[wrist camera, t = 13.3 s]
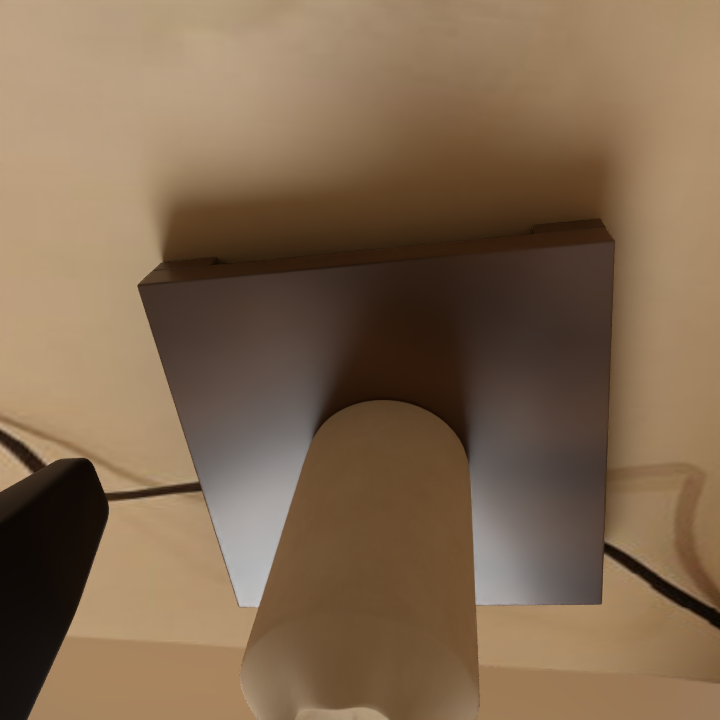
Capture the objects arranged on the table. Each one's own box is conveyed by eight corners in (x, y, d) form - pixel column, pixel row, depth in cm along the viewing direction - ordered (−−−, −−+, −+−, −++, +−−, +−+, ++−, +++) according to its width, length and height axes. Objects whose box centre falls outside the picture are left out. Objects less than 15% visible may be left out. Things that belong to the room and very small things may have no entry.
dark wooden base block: (592, 564, 27) (602, 605, 25) (251, 570, 29) (238, 607, 27) (600, 218, 20) (615, 239, 18) (160, 261, 22) (136, 284, 21)
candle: (322, 530, 25) (252, 828, 16) (292, 403, 22) (190, 672, 13) (475, 525, 24) (490, 838, 15) (463, 391, 21) (472, 673, 12)
